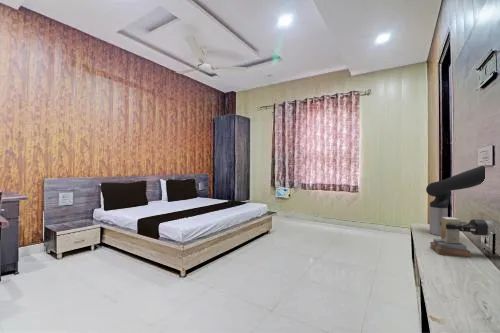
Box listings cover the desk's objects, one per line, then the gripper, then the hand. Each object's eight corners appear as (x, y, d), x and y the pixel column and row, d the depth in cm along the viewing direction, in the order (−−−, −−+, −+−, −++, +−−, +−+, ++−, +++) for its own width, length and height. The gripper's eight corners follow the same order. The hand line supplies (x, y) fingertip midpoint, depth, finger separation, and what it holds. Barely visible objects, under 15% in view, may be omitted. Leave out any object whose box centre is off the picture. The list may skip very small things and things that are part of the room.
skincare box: (453, 241, 125) (455, 217, 125) (459, 243, 121) (460, 219, 121) (439, 240, 127) (441, 216, 126) (445, 242, 122) (446, 218, 122)
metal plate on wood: (430, 247, 131) (430, 238, 131) (457, 249, 128) (457, 240, 128) (440, 254, 120) (440, 244, 120) (470, 257, 116) (470, 247, 116)
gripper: (475, 217, 127) (437, 215, 132) (494, 223, 113) (449, 220, 118) (475, 231, 126) (437, 229, 132) (494, 239, 113) (449, 236, 118)
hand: (443, 225), depth 125 cm, fingers open, 5 cm apart
